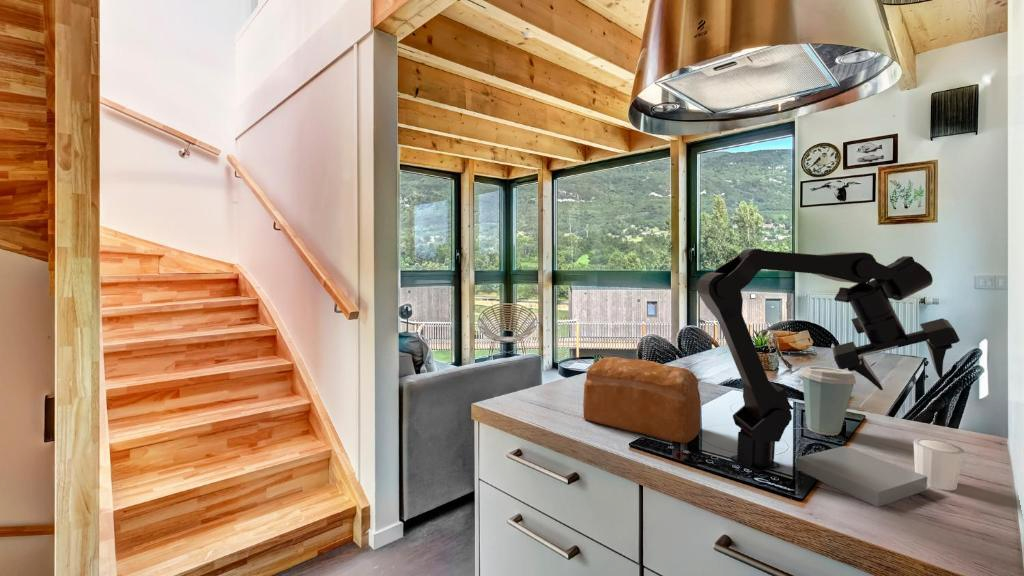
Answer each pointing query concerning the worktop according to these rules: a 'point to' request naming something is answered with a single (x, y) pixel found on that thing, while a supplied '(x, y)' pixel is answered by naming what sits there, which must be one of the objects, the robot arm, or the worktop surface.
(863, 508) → the worktop surface
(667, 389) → the bread
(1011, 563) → the worktop surface
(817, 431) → the disposable coffee cup
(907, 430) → the worktop surface
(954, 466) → the white cup
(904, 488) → the slate board
